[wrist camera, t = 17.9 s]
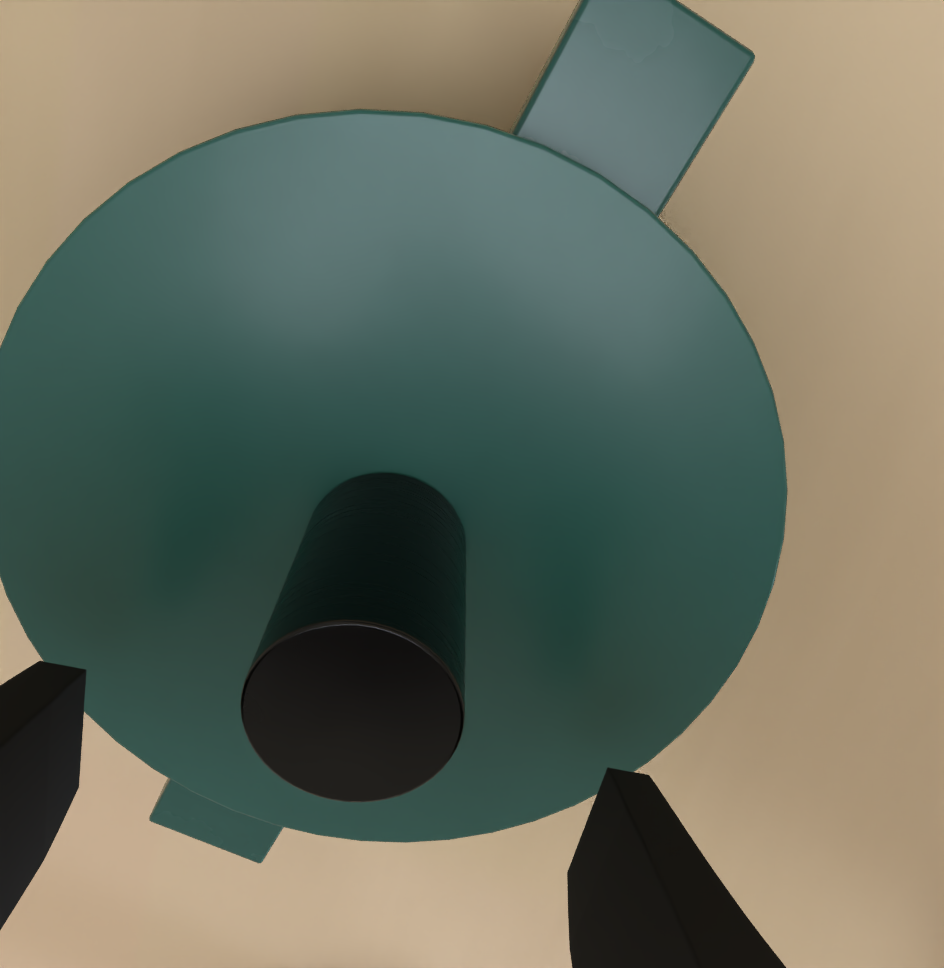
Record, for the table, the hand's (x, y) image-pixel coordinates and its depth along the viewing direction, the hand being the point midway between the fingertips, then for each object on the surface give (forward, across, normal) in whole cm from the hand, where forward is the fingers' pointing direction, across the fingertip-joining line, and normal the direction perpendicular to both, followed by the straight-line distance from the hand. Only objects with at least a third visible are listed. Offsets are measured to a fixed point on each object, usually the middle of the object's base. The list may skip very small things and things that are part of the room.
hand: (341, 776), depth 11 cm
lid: (+3, 0, -2) cm, 4 cm away
